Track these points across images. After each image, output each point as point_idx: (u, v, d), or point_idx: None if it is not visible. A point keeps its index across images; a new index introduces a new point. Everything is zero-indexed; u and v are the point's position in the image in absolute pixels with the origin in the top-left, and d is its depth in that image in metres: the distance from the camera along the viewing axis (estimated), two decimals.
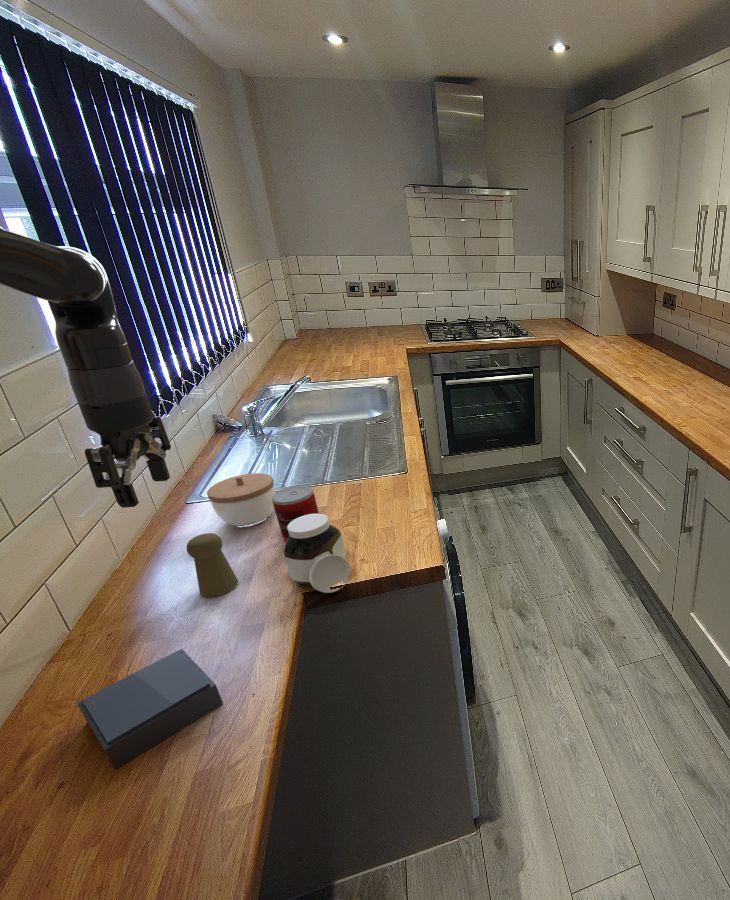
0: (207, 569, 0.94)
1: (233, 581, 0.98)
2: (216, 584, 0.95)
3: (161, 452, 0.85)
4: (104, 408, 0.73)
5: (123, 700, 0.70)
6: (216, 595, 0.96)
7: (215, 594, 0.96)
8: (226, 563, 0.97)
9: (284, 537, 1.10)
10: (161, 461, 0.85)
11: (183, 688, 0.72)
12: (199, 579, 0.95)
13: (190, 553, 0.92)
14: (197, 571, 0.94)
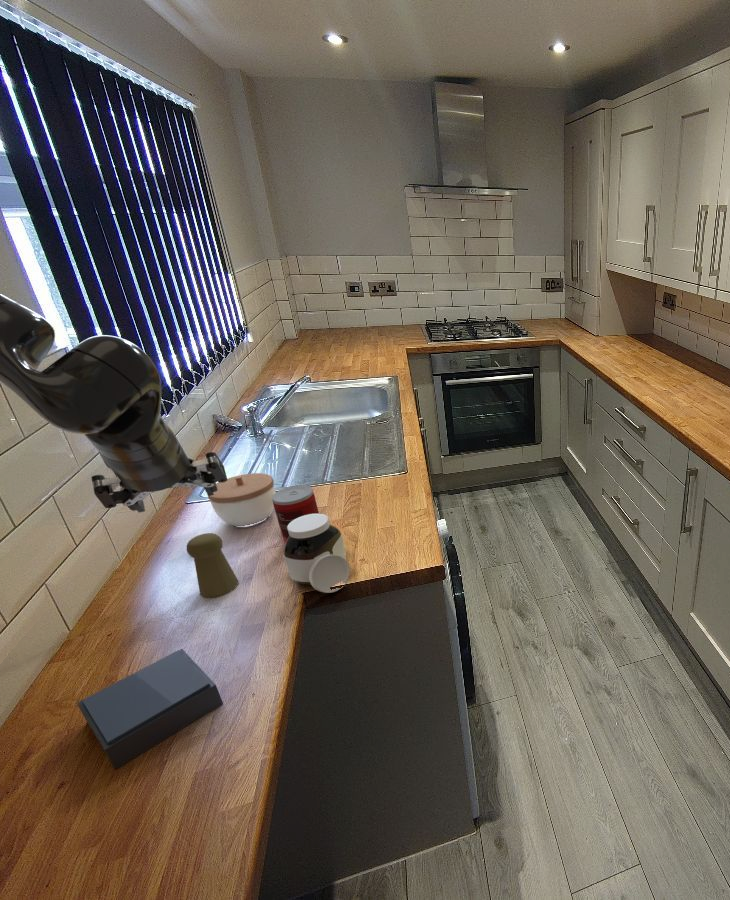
0: (207, 569, 0.94)
1: (233, 581, 0.98)
2: (216, 584, 0.95)
3: (205, 485, 0.79)
4: None
5: (123, 700, 0.70)
6: (216, 595, 0.96)
7: (215, 594, 0.96)
8: (226, 563, 0.97)
9: (284, 537, 1.10)
10: (204, 488, 0.80)
11: (183, 688, 0.72)
12: (199, 579, 0.95)
13: (190, 553, 0.92)
14: (197, 571, 0.94)
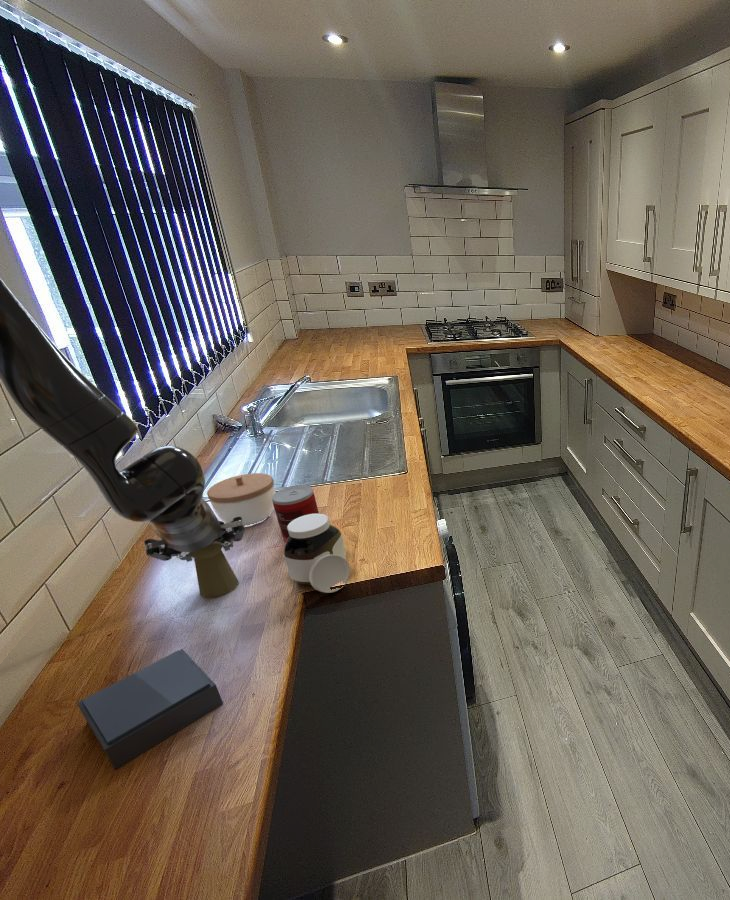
0: (207, 569, 0.94)
1: (233, 581, 0.98)
2: (216, 584, 0.95)
3: (223, 544, 0.94)
4: None
5: (123, 700, 0.70)
6: (216, 595, 0.96)
7: (215, 594, 0.96)
8: (226, 563, 0.97)
9: (284, 537, 1.10)
10: (222, 545, 0.95)
11: (183, 688, 0.72)
12: (199, 579, 0.95)
13: (190, 553, 0.92)
14: (197, 571, 0.94)
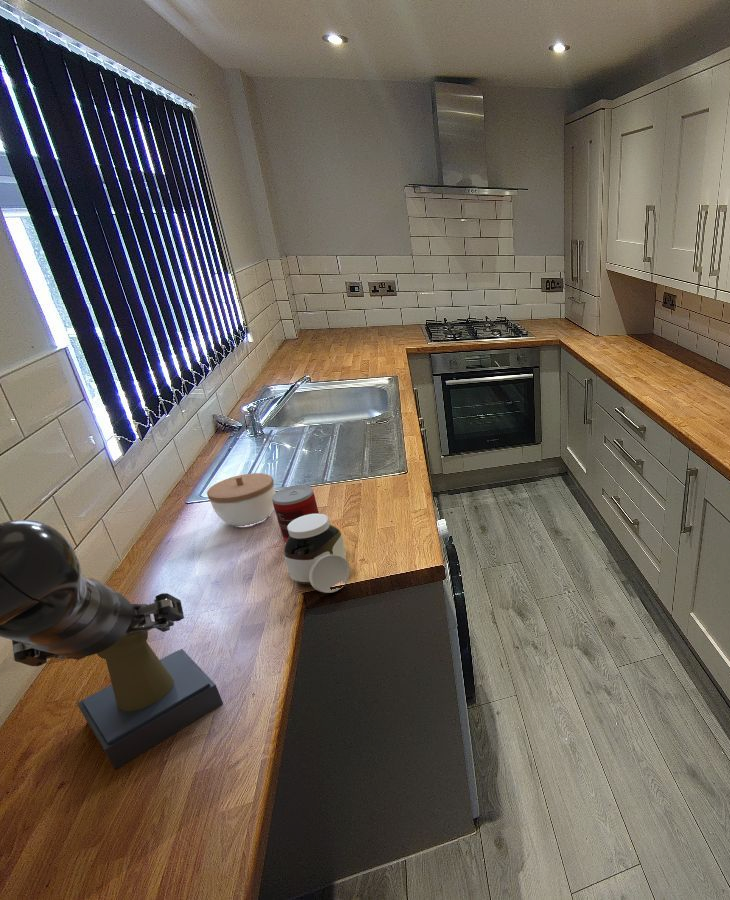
0: (124, 673, 0.67)
1: (165, 684, 0.71)
2: (137, 693, 0.68)
3: (157, 626, 0.67)
4: None
5: None
6: (139, 707, 0.68)
7: (137, 706, 0.68)
8: (154, 660, 0.70)
9: (284, 537, 1.10)
10: (156, 627, 0.68)
11: (183, 688, 0.72)
12: (114, 686, 0.68)
13: (98, 653, 0.65)
14: (111, 675, 0.67)
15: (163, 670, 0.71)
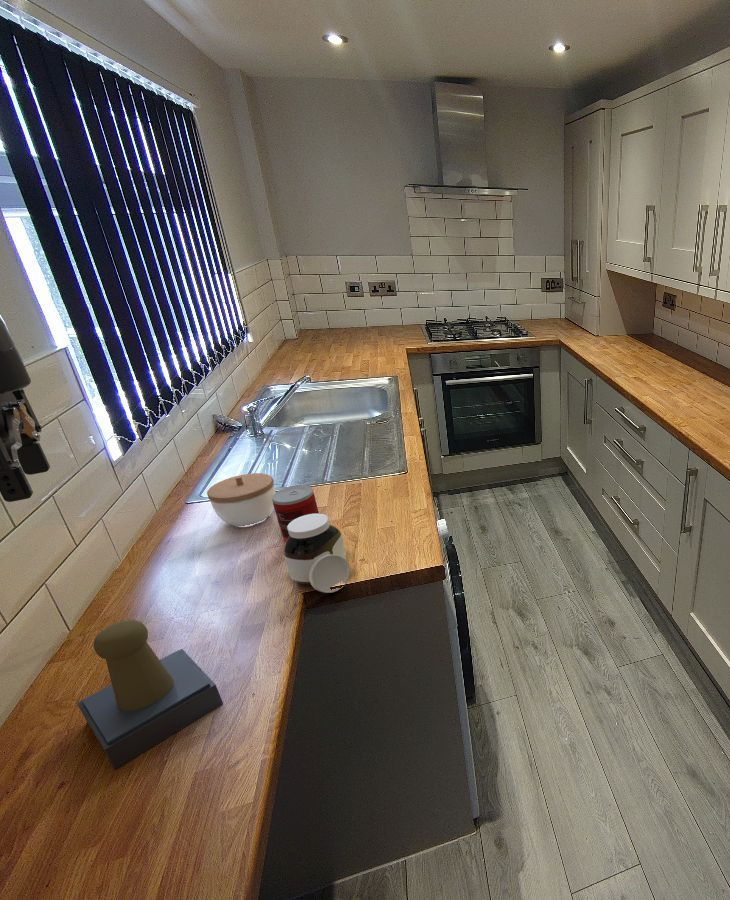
0: (124, 673, 0.67)
1: (165, 684, 0.71)
2: (137, 693, 0.68)
3: (35, 433, 0.64)
4: None
5: None
6: (139, 707, 0.68)
7: (136, 706, 0.68)
8: (154, 660, 0.70)
9: (284, 537, 1.10)
10: (37, 445, 0.64)
11: (183, 688, 0.72)
12: (114, 686, 0.68)
13: (98, 653, 0.65)
14: (111, 675, 0.67)
15: (163, 670, 0.71)
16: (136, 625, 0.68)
